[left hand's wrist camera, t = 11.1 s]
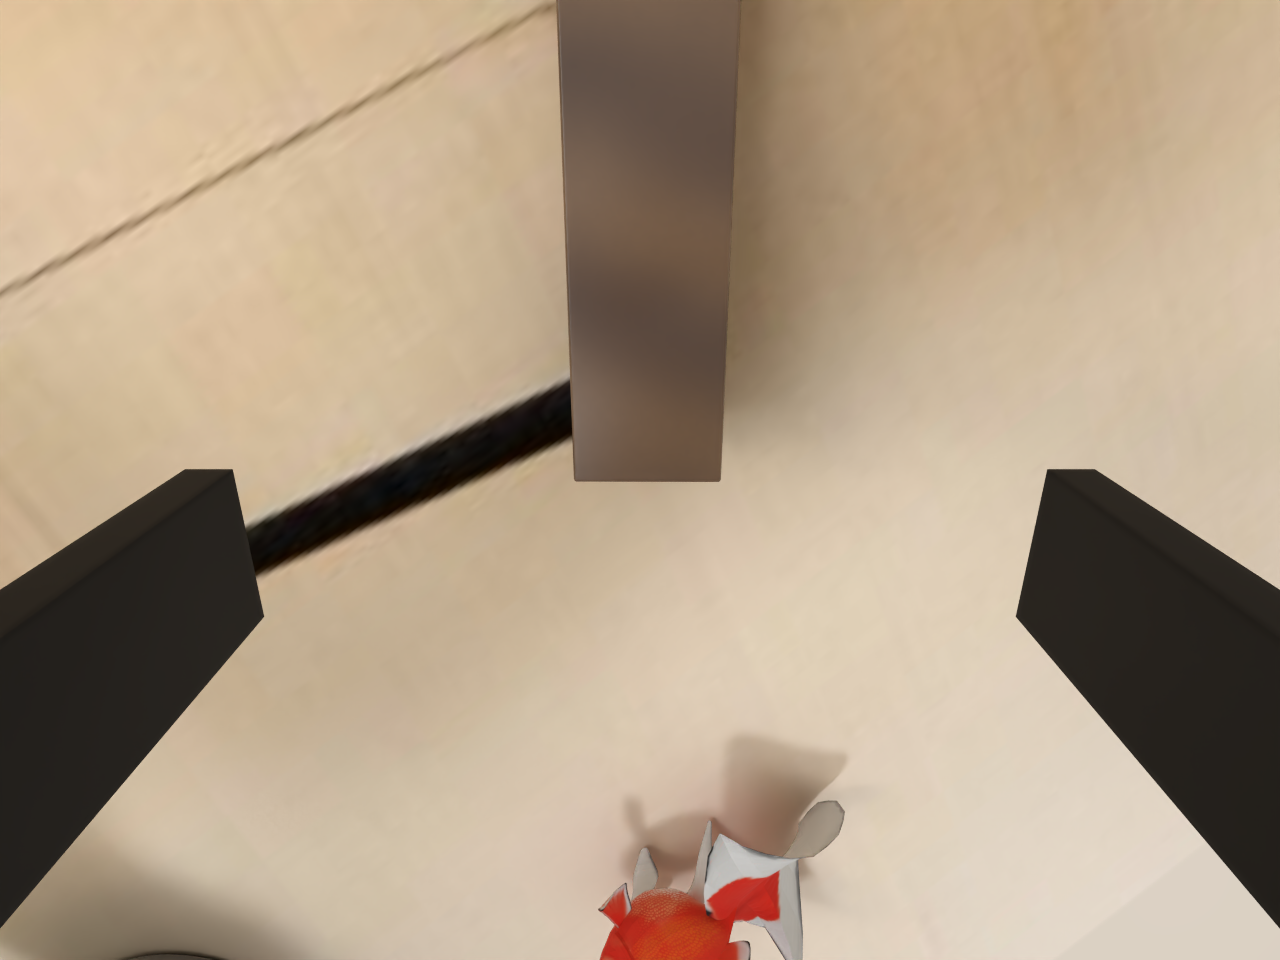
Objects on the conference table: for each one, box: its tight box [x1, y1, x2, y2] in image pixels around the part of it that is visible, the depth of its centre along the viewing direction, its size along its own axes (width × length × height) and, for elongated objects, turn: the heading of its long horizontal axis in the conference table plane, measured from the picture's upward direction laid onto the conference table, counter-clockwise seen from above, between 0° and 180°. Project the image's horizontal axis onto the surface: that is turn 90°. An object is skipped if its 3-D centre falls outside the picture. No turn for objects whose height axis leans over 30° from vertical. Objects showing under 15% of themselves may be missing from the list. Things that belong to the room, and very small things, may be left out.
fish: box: [598, 801, 845, 960], centre depth 40 cm, size 11×16×10 cm
